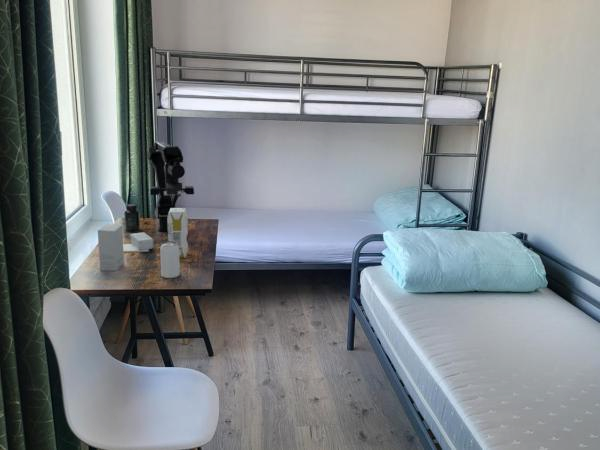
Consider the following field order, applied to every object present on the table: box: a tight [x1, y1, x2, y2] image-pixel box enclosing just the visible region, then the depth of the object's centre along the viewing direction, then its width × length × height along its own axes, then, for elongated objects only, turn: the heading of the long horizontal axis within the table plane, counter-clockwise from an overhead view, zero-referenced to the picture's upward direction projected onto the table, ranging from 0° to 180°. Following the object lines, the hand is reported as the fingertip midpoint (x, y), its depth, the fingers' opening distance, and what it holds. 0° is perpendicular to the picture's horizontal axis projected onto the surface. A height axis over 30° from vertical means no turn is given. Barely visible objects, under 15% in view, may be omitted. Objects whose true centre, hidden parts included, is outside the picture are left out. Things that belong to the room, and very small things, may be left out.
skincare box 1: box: [97, 223, 125, 272], centre depth 186 cm, size 8×7×16 cm
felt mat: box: [123, 243, 150, 253], centre depth 211 cm, size 10×12×1 cm
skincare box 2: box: [130, 232, 154, 250], centre depth 212 cm, size 6×4×12 cm
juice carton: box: [167, 207, 189, 259], centre depth 201 cm, size 8×9×19 cm
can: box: [159, 240, 181, 279], centre depth 180 cm, size 6×6×12 cm
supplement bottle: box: [124, 203, 141, 232], centre depth 238 cm, size 7×7×12 cm
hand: (173, 209), depth 225 cm, fingers closed
